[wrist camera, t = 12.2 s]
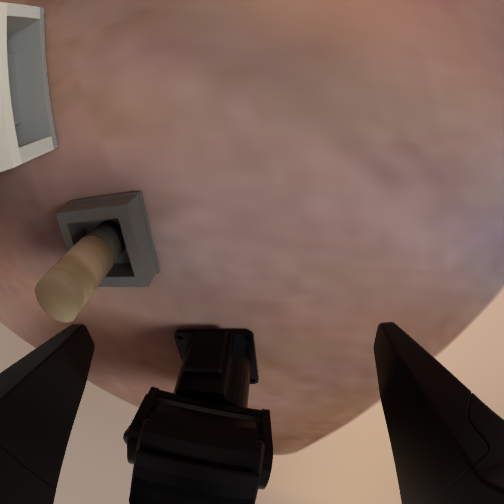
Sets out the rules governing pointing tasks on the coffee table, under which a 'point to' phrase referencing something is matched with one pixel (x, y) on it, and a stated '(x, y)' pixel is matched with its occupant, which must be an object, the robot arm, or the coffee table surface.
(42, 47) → the breaker box
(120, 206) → the holder
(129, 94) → the coffee table surface
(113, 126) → the coffee table surface
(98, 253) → the beige rounded rod
